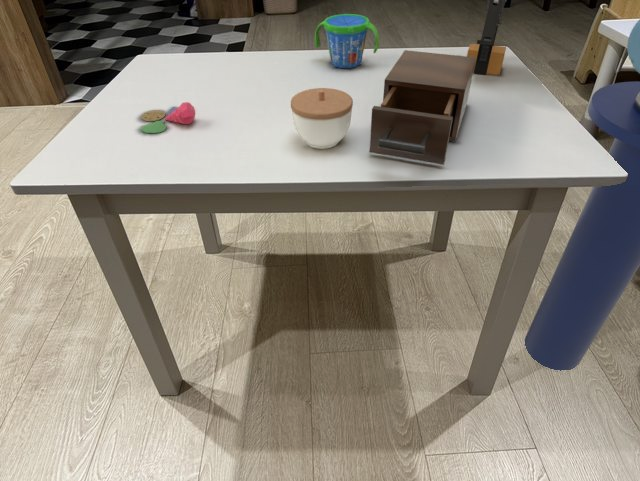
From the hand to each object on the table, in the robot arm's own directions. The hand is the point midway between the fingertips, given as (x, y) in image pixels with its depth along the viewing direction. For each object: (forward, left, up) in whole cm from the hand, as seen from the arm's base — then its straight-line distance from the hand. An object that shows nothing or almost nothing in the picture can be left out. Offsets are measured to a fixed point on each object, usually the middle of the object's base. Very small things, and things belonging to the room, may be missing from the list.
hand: (482, 63), depth 106 cm
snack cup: (+32, +6, -2) cm, 32 cm away
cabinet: (+8, +29, -2) cm, 30 cm away
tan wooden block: (0, 0, -2) cm, 2 cm away
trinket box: (+24, +44, -2) cm, 50 cm away
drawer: (+8, +43, -1) cm, 43 cm away
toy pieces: (+56, +46, -2) cm, 72 cm away
